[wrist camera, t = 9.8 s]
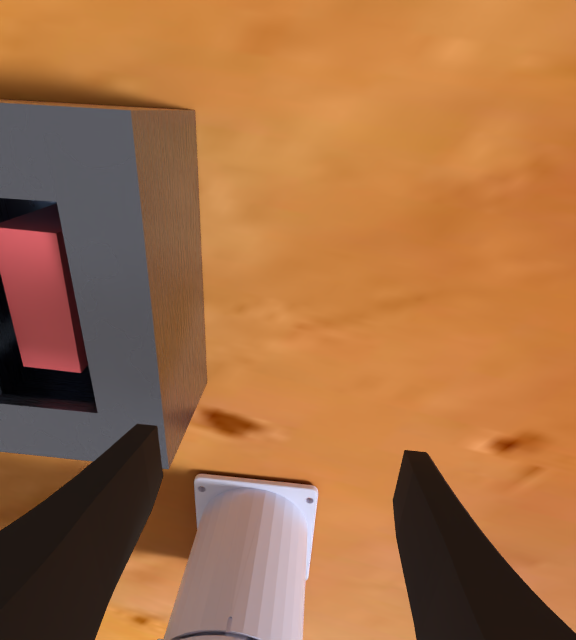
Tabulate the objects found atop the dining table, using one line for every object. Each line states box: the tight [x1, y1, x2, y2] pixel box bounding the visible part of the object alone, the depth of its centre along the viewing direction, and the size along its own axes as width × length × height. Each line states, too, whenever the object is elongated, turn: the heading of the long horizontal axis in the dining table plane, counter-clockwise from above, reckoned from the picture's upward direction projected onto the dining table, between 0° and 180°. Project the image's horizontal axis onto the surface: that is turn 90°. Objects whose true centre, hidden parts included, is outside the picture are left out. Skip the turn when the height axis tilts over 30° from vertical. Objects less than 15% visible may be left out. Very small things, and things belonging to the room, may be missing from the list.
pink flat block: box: [0, 203, 88, 373], centre depth 19 cm, size 6×2×5 cm, turn 176°
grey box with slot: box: [0, 99, 207, 469], centre depth 18 cm, size 14×10×6 cm
